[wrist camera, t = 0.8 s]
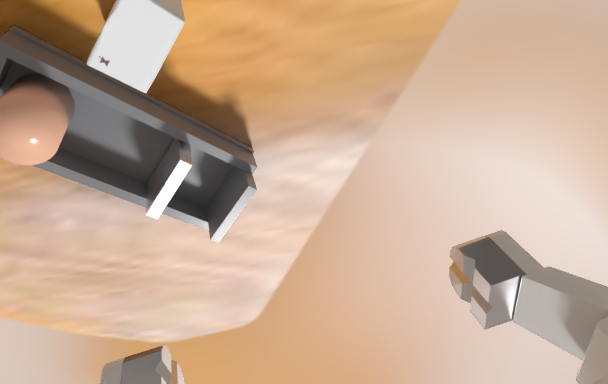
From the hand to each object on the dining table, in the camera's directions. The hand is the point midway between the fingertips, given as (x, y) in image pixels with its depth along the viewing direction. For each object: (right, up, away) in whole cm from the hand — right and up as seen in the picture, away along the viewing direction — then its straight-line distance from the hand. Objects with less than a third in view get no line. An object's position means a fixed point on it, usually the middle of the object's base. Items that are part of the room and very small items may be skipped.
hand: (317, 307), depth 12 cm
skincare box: (-15, +20, +26) cm, 35 cm away
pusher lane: (-18, +9, +31) cm, 38 cm away
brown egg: (-24, +11, +27) cm, 38 cm away
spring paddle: (-15, +7, +33) cm, 36 cm away
